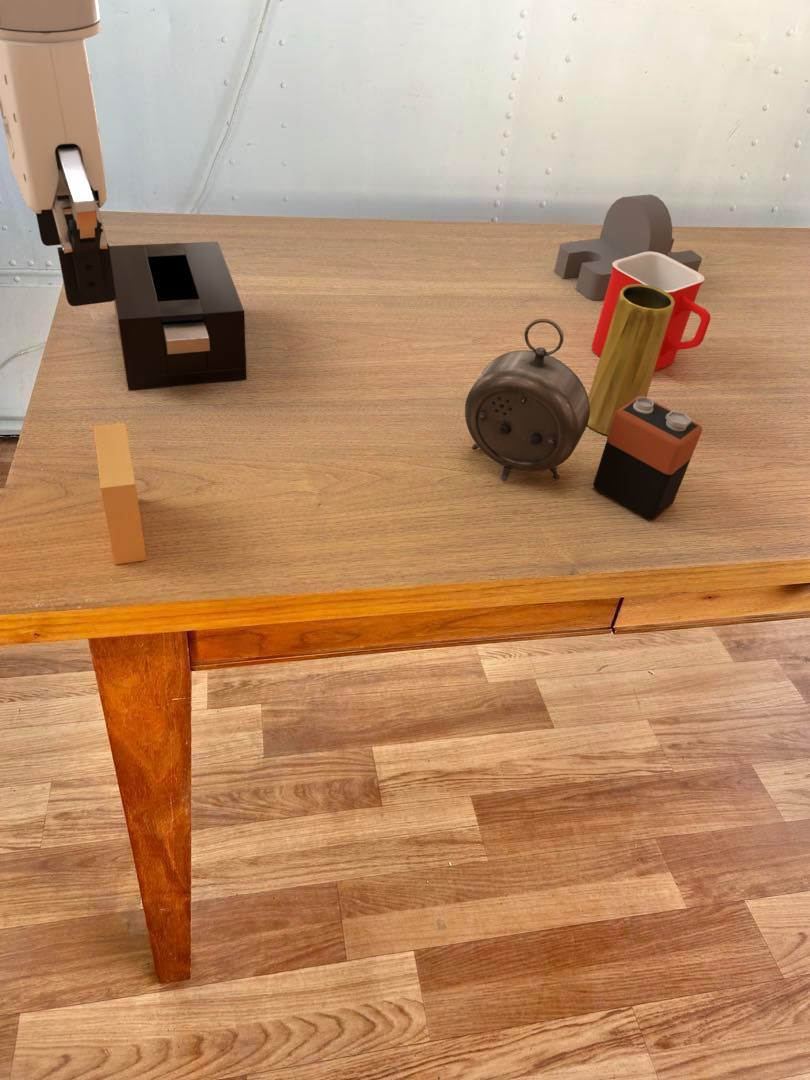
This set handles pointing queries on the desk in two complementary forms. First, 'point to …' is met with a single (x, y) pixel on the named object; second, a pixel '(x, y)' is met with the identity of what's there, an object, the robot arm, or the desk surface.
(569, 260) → the bracket
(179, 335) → the lever
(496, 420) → the alarm clock
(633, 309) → the vase
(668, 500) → the battery
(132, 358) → the toaster
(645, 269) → the mug
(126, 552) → the toast
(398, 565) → the desk surface
